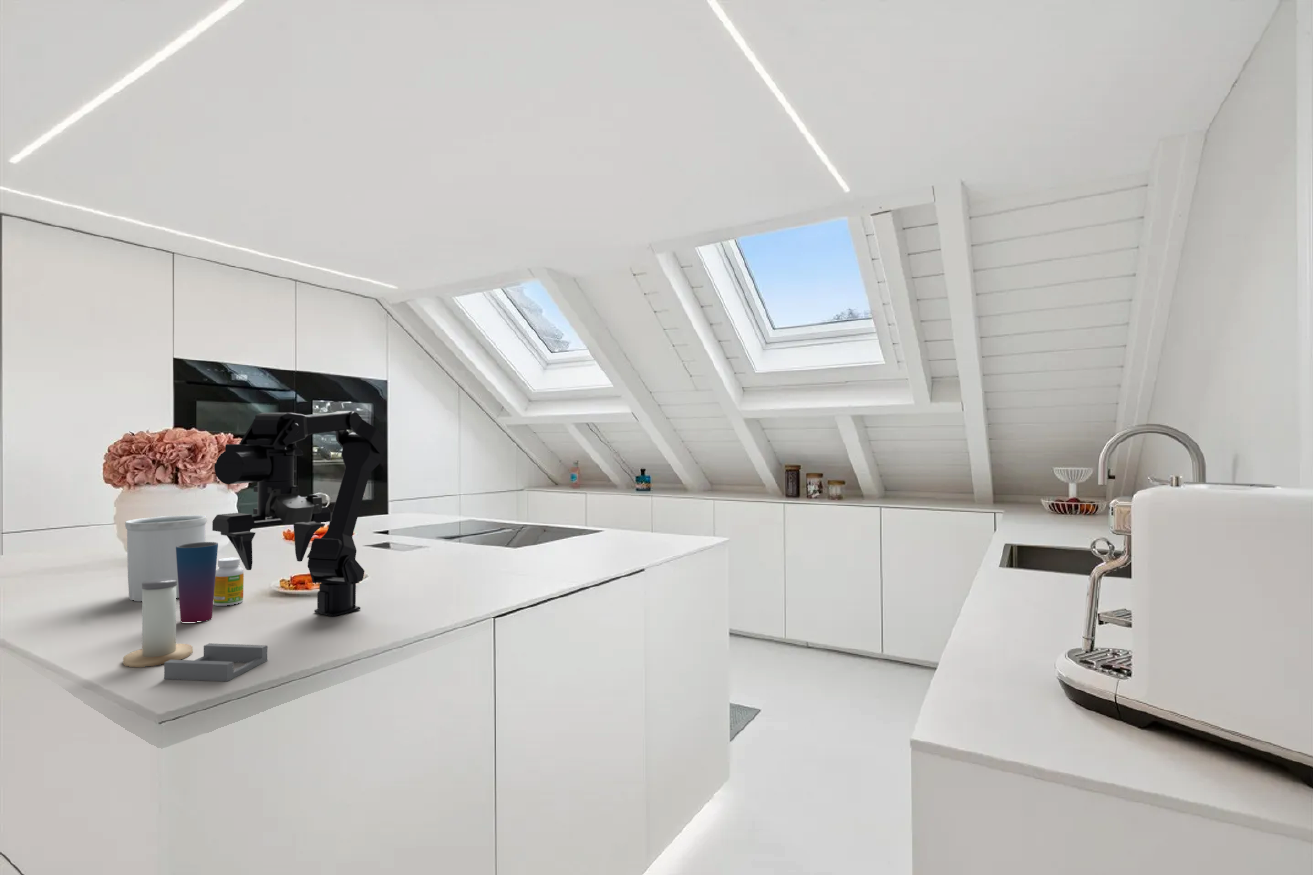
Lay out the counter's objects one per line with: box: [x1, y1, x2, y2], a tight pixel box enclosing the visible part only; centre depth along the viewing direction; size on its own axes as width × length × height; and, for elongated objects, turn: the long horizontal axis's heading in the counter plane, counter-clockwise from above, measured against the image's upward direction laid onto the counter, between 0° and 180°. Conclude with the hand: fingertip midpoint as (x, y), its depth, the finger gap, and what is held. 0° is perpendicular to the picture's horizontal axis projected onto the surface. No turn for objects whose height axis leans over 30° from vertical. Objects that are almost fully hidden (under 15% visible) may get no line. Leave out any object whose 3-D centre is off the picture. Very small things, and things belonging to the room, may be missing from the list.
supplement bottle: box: [213, 556, 245, 607], centre depth 138 cm, size 5×5×10 cm
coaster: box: [122, 643, 193, 668], centre depth 104 cm, size 9×9×1 cm
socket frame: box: [163, 642, 268, 682], centre depth 99 cm, size 9×10×2 cm
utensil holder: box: [124, 514, 208, 602], centre depth 144 cm, size 15×15×18 cm
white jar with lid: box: [141, 578, 177, 657], centre depth 104 cm, size 5×5×12 cm
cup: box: [176, 541, 219, 622], centre depth 125 cm, size 7×7×15 cm
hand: (275, 565), depth 116 cm, fingers open, 9 cm apart
